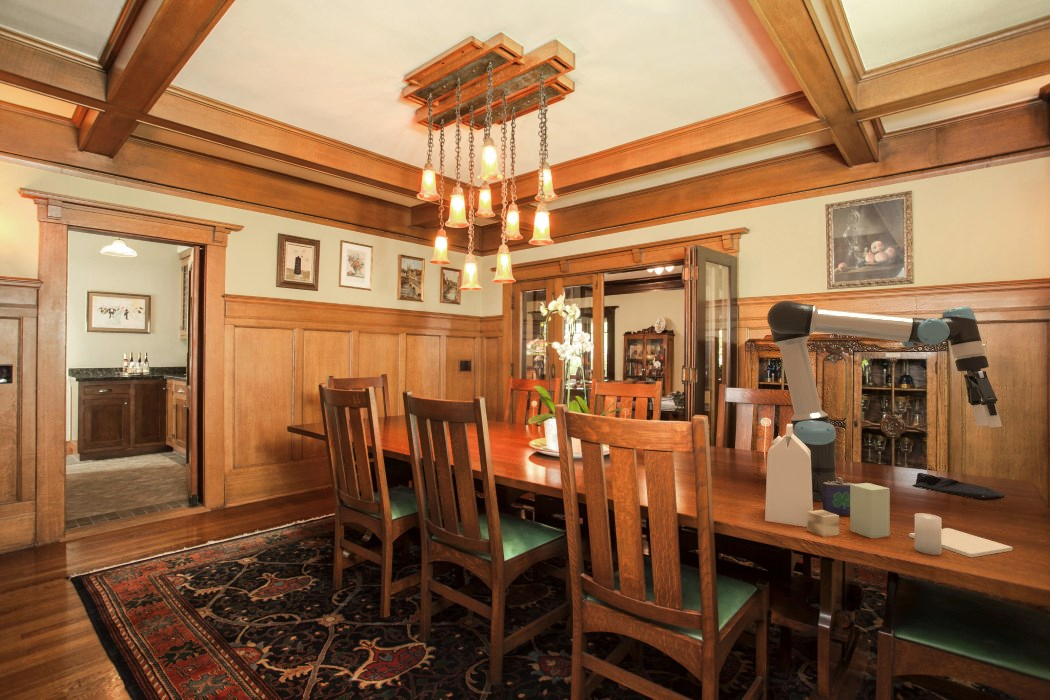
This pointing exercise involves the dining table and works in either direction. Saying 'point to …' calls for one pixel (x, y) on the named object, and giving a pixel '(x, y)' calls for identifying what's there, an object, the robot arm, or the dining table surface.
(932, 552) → the white cylinder
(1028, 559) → the dining table surface
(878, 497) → the sage block
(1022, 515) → the dining table surface
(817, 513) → the maple cube
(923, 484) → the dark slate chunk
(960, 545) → the white tile
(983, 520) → the dining table surface
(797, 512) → the milk
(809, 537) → the dining table surface
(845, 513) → the flask
